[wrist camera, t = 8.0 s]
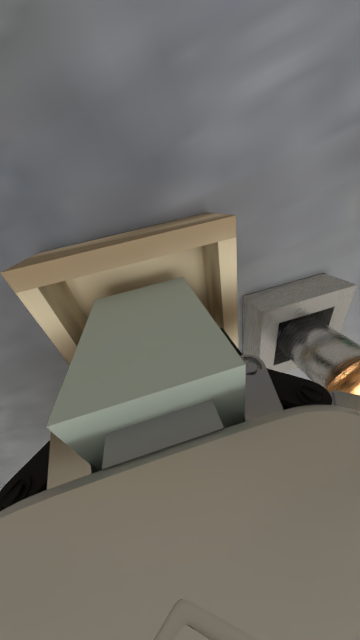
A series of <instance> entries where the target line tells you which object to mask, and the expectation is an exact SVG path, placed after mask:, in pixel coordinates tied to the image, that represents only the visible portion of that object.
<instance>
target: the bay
mask: <svg viewBox="0 0 360 640" xmlns="http://www.w3.org/2000/svg"><path fill="white" fill-rule="evenodd" d="M1 274H2V276H3V277H4V278H5V280H6V281H7V282H8V284H9V285H10V286H11V288H12V289H13V290H14V292H15V293H16V294H17V296H18V297H19V298H20V300H21V301H22V302H23V304H24V305H25V306H26V308H27V309H28V310H29V312H30V313H31V314H32V316H33V317H34V318H35V320H36V321H37V322H38V324H39V325H40V326H41V328H42V329H43V330H44V332H45V333H46V334H47V336H48V337H49V338H50V340H51V341H52V342H53V343H54V345H55V346H56V347H57V349H58V350H59V351H60V353H61V354H62V355H63V357H64V358H65V359H66V361H67V362H68V363H69V365H70V364H71V361H72V359H73V356H74V353H75V351H76V348H77V346H78V343H79V341H80V338H81V335H82V333H83V330H84V328H85V325H86V322H87V320H88V317H89V315H90V312H91V310H92V307H93V304H94V302H95V300H97V299H101V298H104V297H108V296H112V295H116V294H119V293H123V292H127V291H131V290H135V289H138V288H142V287H146V286H150V285H153V284H157V283H161V282H165V281H168V280H172V279H176V278H180V277H183V278H184V279H185V280H186V282H187V283H188V284H189V286H190V287H191V289H192V290H193V291H194V293H195V294H196V296H197V297H198V298H199V300H200V301H201V303H202V304H203V305H204V307H205V308H206V310H207V311H208V312H209V314H210V315H211V317H212V318H213V319H214V321H215V322H216V324H217V325H218V326H219V328H223V329H224V330H225V332H226V333H227V334H228V336H229V337H230V339H231V340H232V341H233V343H234V344H235V345H236V347H237V348H238V307H237V250H236V215H227V214H217V213H204V214H200V215H196V216H192V217H188V218H183V219H179V220H175V221H171V222H167V223H162V224H158V225H154V226H150V227H146V228H142V229H137V230H133V231H129V232H125V233H121V234H116V235H112V236H108V237H104V238H100V239H96V240H91V241H87V242H83V243H79V244H75V245H70V246H66V247H62V248H58V249H54V250H50V251H45V252H41V253H38V254H36V255H34V256H32V257H30V258H28V259H26V260H24V261H22V262H20V263H18V264H16V265H14V266H12V267H10V268H9V269H7V270H5V271H3V272H1Z"/></svg>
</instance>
